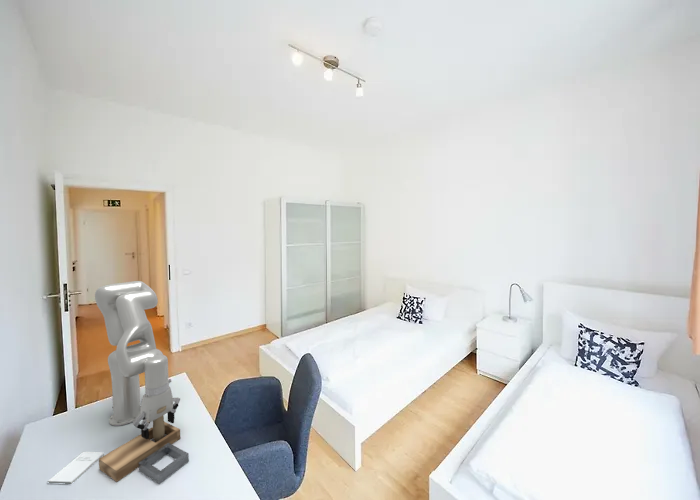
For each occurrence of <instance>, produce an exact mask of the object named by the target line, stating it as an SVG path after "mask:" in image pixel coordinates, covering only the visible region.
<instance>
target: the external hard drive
mask: <svg viewBox="0 0 700 500" xmlns="http://www.w3.org/2000/svg"><path fill="white" fill-rule="evenodd" d="M103 456H105V452H103V451H82V452H81V453H80V454H79V455H78V456H76V457H75V458H74V459H73V460H71V461H70V462H69V463H68V464H67V465H65V466H64V467H63V468H61V469H60V470H59V471H58V472H57V473H55V475H53V476H52V477H51V478H49V479H48V480H47V481H46V483H47V482H49V483H65V484H64V485H68V484H72V483H73V482H74V483H75V482H77V480H78V479H79V478H80V477H81V476H82V475H84V474H85V473H86V472H87V471H88V470H89V469H90V468H92V467H93V465H95V464H96V463H97V462H99V458H101V457H103ZM74 483H73V484H74ZM73 484H72V485H73Z"/></svg>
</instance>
